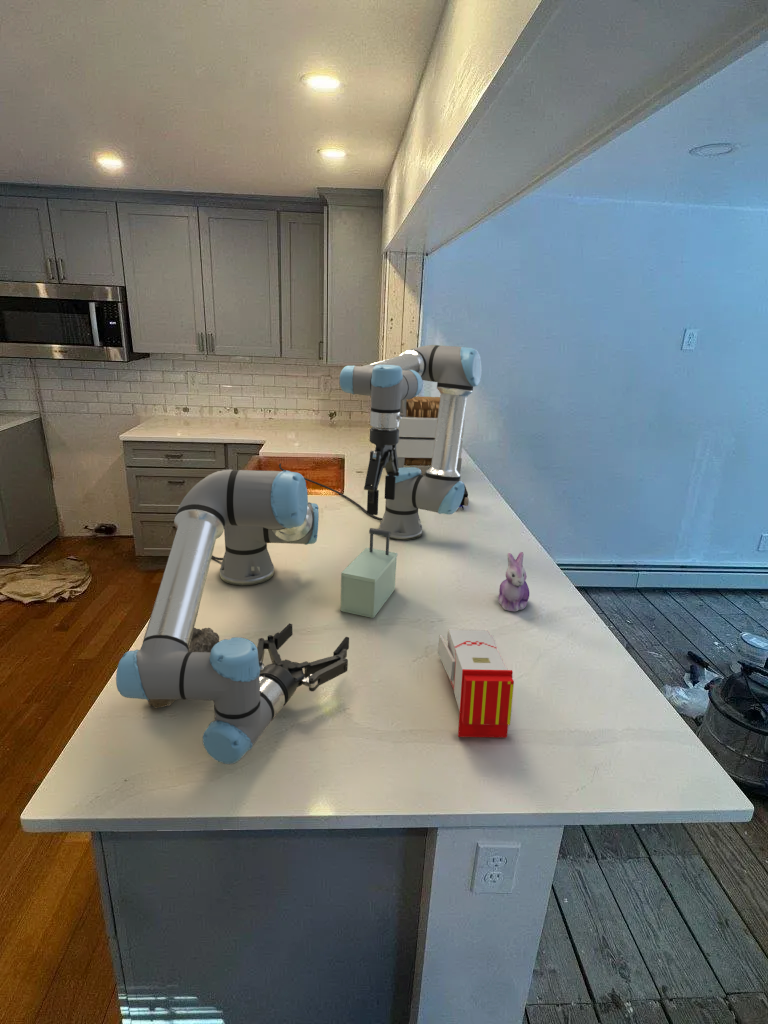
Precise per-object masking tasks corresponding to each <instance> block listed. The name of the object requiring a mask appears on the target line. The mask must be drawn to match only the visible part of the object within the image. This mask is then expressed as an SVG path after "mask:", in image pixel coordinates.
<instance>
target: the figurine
mask: <svg viewBox="0 0 768 1024" xmlns="http://www.w3.org/2000/svg"><path fill="white" fill-rule="evenodd" d="M506 556H507V569H506V571H505V579H504V580H502V581H501V583H500V585H499V591H498V592H499V593H498V597H497V598H498V600H497V601H498V604H499V605H500V606H501V607H502V609H503V610H505V611H507V612H508V611H509V612H518V611H520V610H521V611H522V610H524V609H525V608H526V607H527V605H528V601H529V599H530V588H529V585H528V584H527V581H526V580H527V571H526V570H525V567H524V552H523V551H520V552H519V553H518V555H517V557H516V559H515V557H514V556H513V554H512V553H511V552H508V553H507V555H506Z"/></svg>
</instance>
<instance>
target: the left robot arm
mask: <svg viewBox="0 0 768 1024" xmlns="http://www.w3.org/2000/svg"><path fill="white" fill-rule="evenodd" d="M304 478H305V477H304V475H302V474H301V473H299V472H297V471H290V470H287V471H282V470H254V469H253V470H252V469H251V470H249V469H221V470H217V471H215V472H213V473H211V474H208V475H207V476H206V477H204V478H202V479H201V480H200V481H198V482H197V483H196V484H195V485H193V487H192V488H190V490H189V491H188V492H186V493H187V494H186V495H185V496H184V497H183V499H182V500H181V502H180V504H179V506H178V508H177V510H176V514H175V517H174V520H173V525H174V528H175V529H176V532H175V535H174V538H173V541H172V545H171V548H170V552H169V554H168V557H167V561H166V565H165V567H164V571H163V574H162V578H161V580H160V584H159V587H158V590H157V593H156V597H155V601H154V604H153V607H152V611H151V614H150V617H149V620H148V624H147V626H146V630H145V633H144V636H143V640H142V643H141V646H140V649H135V650H128V651H126V652H125V653H124V654H123V655H122V657H121V658H120V659H119V661H118V665H117V668H116V673H115V674H116V675H115V685H116V689H117V691H118V693H119V694H120V695H121V696H122V697H124V698H125V699H135V700H136V699H137V700H145V701H148V700H150V699H176V700H183V701H186V700H187V701H213V711H214V719H213V720H212V721H211V722H210V723H208V726H207V727H206V729H205V730H204V732H203V734H202V745H203V747H204V749H205V751H206V753H207V754H208V755H209V756H210V758H212V759H213V760H215V761H216V762H219V763H222V764H224V765H231V764H232V765H233V764H236V763H237V762H239V761H240V760H241V759H242V758H243V757H244V755H246V754H247V752H248V751H250V750H252V748H253V746H254V745H255V743H256V742H257V741H258V740H259V738H260V737H261V735H263V733H264V732H265V731H266V729H267V728H268V727H269V725H270V724H271V723H272V721H273V720H274V719H275V718H276V716H277V715H278V714H279V713H280V711H281V710H282V709H283V708H284V707H285V705H286V704H288V702H289V701H290V700H291V698H292V697H293V696H294V694H295V692H296V691H297V690H298V688H299V687H301V686H305V687H308V691H309V692H314V691H316V690H317V689H318V688H319V687H320V686H321V685H324V684H326V683H328V682H329V681H331V680H333V679H335V678H337V677H339V676H341V675H343V674H344V673H347V672H348V668H349V660H348V658H347V657H348V650H349V649H350V637H348V636H344V638H343V640H342V641H341V642H340V644H339V645H338V646H336V648H335V650H334V651H333V652H332V653H333V654H332V656H327V657H324V658H322V659H316V660H314V661H310V662H308V661H303V662H297V661H291V660H290V659H283V660H282V658H281V656H280V654H279V652H278V650H280V648H282V646H283V645H284V644H285V643H286V642H287V641H288V640H289V639H290V638H291V637H292V636H293V623H288V624H287V625H285V627H284V628H283V629H282V630H281V631H280V632H276V633H274V635H272V634H268V635H267V638H266V639H265V638H263V637H260V638H258V640H257V645H256V644H255V643H254V642H253V641H251V640H250V639H248V638H244V637H238V636H237V637H231V638H229V639H226V638H224V639H222V640H219V642H218V643H216V644H215V645H214V646H213V648H212V650H211V652H188V650H189V646H190V642H191V638H192V634H193V630H194V628H195V625H196V621H197V617H198V614H199V610H200V605H201V602H202V597H203V593H204V589H205V585H206V581H207V577H208V573H209V570H210V566H211V561H212V559H213V560H216V561H221V564H220V567H219V574H220V579H221V580H222V581H223V582H225V583H227V584H230V585H233V586H254V585H259V584H262V583H265V582H267V581H269V580H270V579H272V578H273V576H274V574H275V565H274V563H273V561H272V558H271V555H270V553H269V550H268V544H292V545H305V546H308V545H313V544H315V543H317V540H318V533H319V519H320V517H319V516H320V514H319V512H320V511H319V505H318V504H317V503H313V502H309V500H308V499H309V498H308V495H309V494H308V493H309V492H308V488H307V482H306V480H305V479H304ZM223 534H224V547H225V548H224V554H223V557H217V556H214V555H213V553H214V550H215V545H216V541H217V539H220V537H222V536H223ZM265 650H267V652H268V655H269V658H270V661H271V663H269V664H267V665H265V664H264V657H265ZM303 669H304V670H303Z"/></svg>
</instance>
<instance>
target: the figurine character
mask: <svg viewBox="0 0 768 1024" xmlns="http://www.w3.org/2000/svg"><path fill="white" fill-rule="evenodd" d="M464 488H465V490H464V495H463V499H462V501H461V504H460V506H459V508H461V510H462V511H464V510H465V507H468V506H469V502H470V501H469V492H468V490H467V487H466V486H465V487H464Z"/></svg>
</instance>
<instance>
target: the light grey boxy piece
mask: <svg viewBox="0 0 768 1024" xmlns="http://www.w3.org/2000/svg"><path fill="white" fill-rule="evenodd" d="M439 403H440V396H419V395H417V396H415V397H413V398H412V399H409V400H408V399H407V400H403V401H401V405H400V416H401V417H402V419H401V420H400V421H399V427H398V430H399V442H398V443H397V444H396V451H397V459H398V467H399V468H404V467H405V466H406V467H410V466H411V467H417V466H418V467H431V463H432V455H433V448H434V440H435V433H436V425H437V418H438V410H439ZM464 429H465V419H464V422H463V429H462V436H461V443H460V450H459V457H458V464H457V471H458V473H459V474H460V475H461V472H462V461H463V460H462V453H463V442H464V441H463V440H462V439H463V438H464V431H465V430H464Z"/></svg>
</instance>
